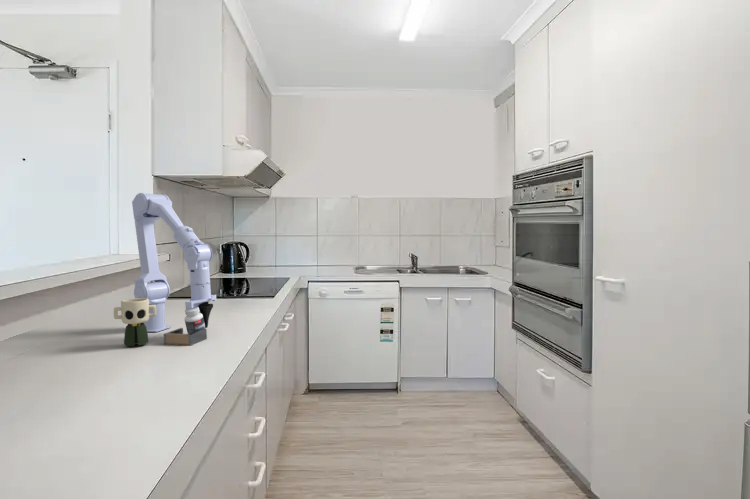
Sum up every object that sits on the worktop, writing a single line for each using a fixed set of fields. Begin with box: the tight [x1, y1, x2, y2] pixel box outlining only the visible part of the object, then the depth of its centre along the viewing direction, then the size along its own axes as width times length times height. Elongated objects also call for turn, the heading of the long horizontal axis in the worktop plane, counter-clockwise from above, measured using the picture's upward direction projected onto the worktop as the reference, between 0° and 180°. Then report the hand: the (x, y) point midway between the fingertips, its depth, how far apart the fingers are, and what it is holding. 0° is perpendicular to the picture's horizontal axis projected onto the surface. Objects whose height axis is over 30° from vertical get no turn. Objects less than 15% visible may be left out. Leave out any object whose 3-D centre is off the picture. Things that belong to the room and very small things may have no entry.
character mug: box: [113, 297, 156, 347], centre depth 141 cm, size 11×7×13 cm, turn 114°
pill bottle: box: [184, 306, 207, 334], centre depth 150 cm, size 5×5×9 cm
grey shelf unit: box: [163, 327, 208, 346], centre depth 146 cm, size 9×8×3 cm
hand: (203, 327), depth 153 cm, fingers closed, pressing on pill bottle
